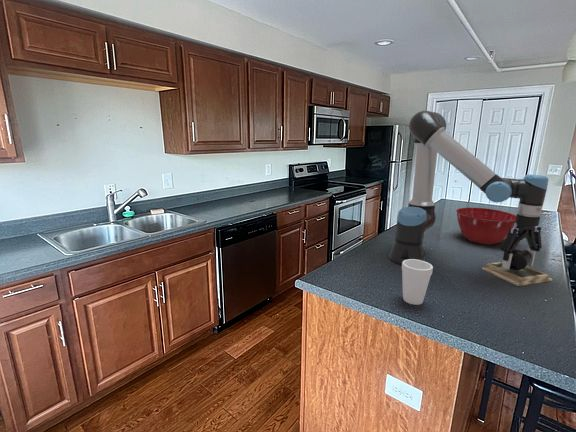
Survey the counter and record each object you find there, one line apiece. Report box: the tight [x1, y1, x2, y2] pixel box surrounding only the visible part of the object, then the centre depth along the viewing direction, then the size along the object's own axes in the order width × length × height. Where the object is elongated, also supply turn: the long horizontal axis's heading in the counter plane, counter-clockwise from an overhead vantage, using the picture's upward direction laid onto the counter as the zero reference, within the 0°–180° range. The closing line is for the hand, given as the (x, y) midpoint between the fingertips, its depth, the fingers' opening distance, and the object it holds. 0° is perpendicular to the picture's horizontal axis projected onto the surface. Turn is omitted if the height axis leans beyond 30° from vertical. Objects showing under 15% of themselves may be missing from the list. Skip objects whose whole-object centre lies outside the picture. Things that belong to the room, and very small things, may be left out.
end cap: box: [510, 248, 532, 271], centre depth 128 cm, size 10×7×7 cm
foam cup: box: [401, 259, 434, 306], centre depth 107 cm, size 10×9×13 cm
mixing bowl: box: [455, 207, 517, 246], centre depth 171 cm, size 28×28×16 cm
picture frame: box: [481, 261, 553, 287], centre depth 130 cm, size 18×16×2 cm
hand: (517, 266), depth 129 cm, fingers closed on end cap, 12 cm apart
